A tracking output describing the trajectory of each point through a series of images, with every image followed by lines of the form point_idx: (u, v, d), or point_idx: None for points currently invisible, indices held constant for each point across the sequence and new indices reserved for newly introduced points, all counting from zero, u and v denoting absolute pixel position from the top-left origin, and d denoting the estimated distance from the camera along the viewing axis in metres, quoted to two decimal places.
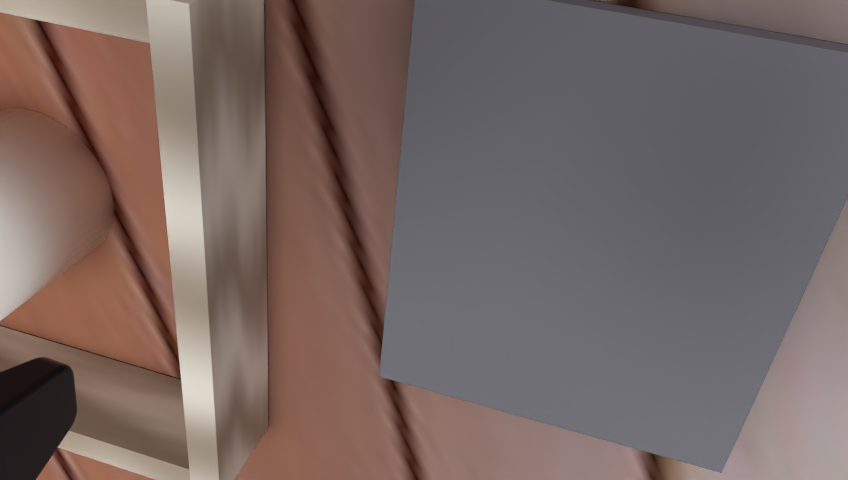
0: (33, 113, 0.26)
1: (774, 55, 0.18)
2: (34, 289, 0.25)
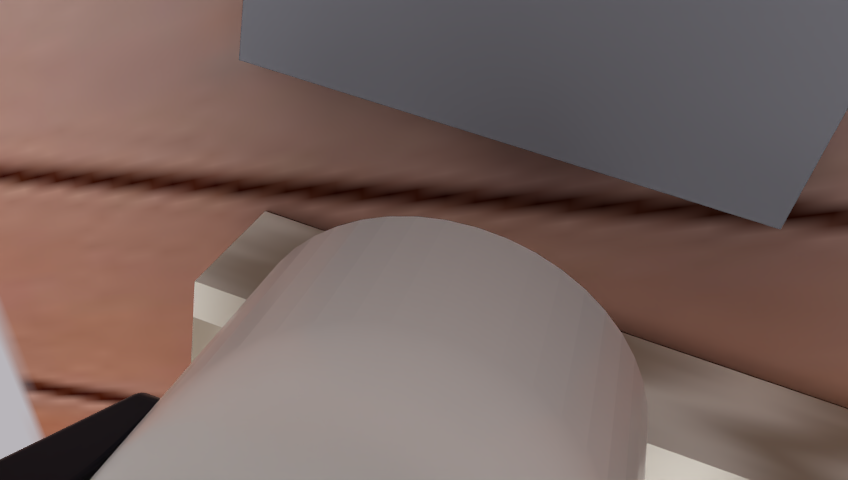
0: None
1: None
2: None
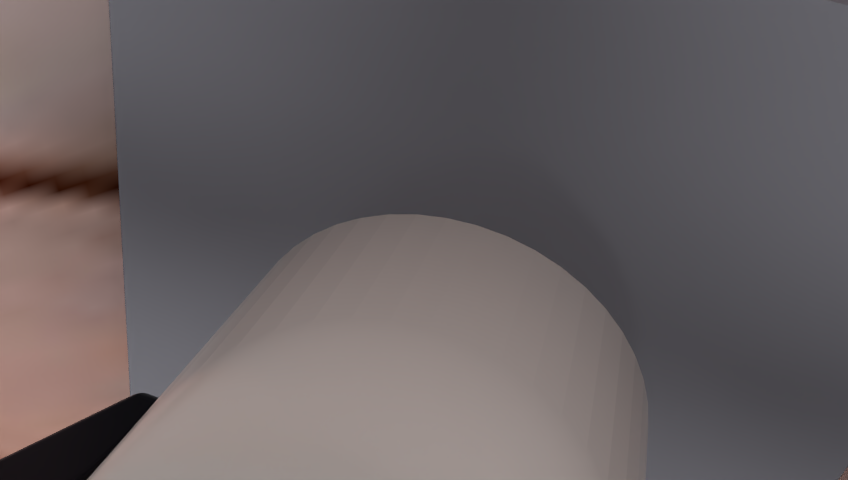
0: None
1: (128, 24, 0.13)
2: None
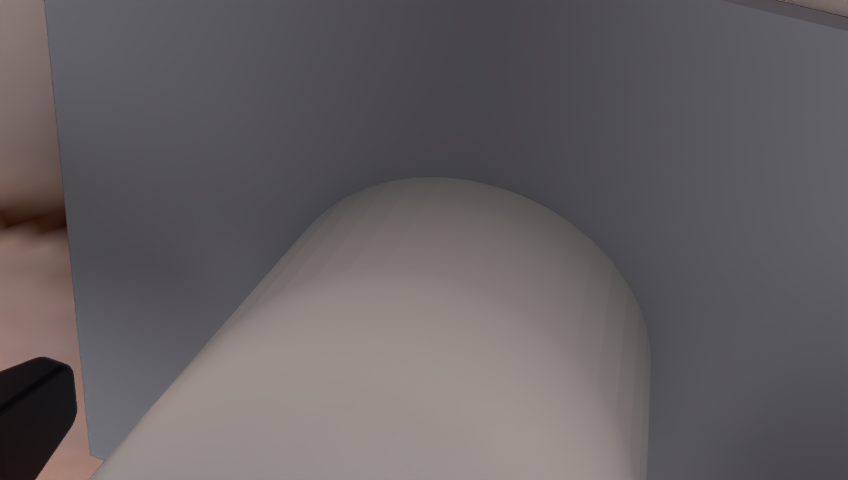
0: None
1: (69, 52, 0.11)
2: (552, 447, 0.07)
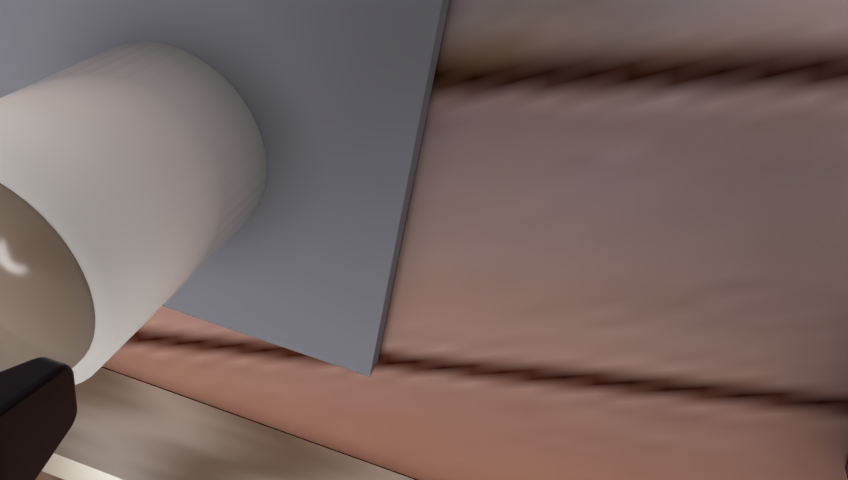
0: None
1: None
2: (128, 129, 0.16)
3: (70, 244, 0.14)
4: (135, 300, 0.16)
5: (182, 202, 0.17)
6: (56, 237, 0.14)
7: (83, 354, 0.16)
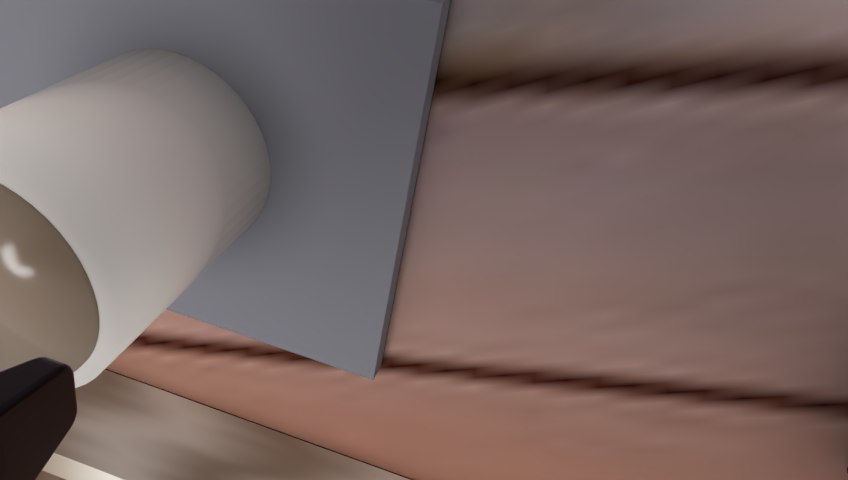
0: None
1: None
2: (133, 134, 0.17)
3: (75, 247, 0.15)
4: (138, 303, 0.16)
5: (186, 207, 0.17)
6: (61, 240, 0.15)
7: (87, 356, 0.16)
